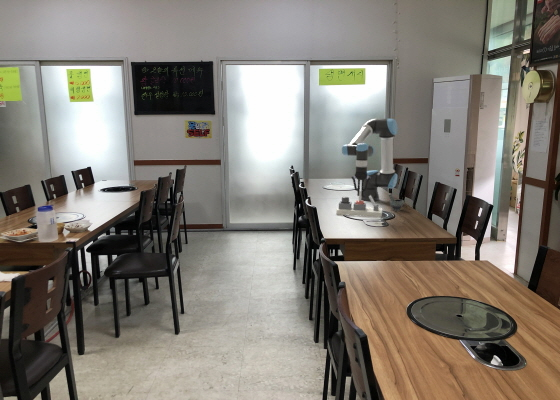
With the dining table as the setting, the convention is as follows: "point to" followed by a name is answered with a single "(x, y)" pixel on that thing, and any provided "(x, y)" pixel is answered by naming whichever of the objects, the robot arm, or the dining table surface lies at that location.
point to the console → (358, 210)
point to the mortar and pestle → (395, 203)
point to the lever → (372, 200)
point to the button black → (345, 200)
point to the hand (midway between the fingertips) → (360, 200)
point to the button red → (359, 202)
